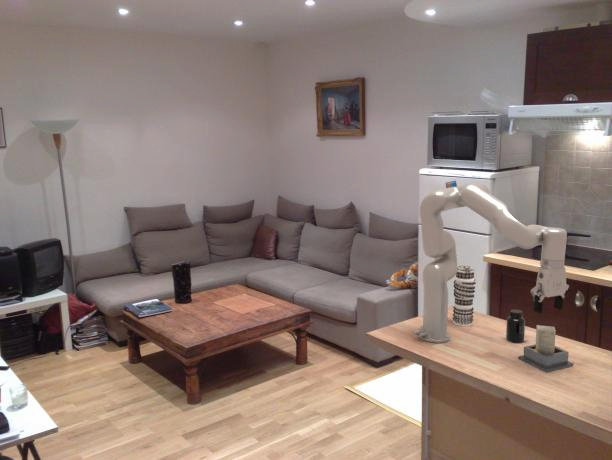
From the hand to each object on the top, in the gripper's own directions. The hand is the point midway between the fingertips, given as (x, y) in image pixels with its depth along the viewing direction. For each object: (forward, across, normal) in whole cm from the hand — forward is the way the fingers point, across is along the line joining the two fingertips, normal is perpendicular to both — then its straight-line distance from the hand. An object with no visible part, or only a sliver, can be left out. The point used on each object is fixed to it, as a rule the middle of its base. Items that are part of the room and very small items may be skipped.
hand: (548, 310), depth 198 cm
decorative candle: (+20, +2, +46) cm, 50 cm away
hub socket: (+20, 0, 0) cm, 20 cm away
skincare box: (+19, 0, 0) cm, 19 cm away
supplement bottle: (+20, +7, +20) cm, 29 cm away
